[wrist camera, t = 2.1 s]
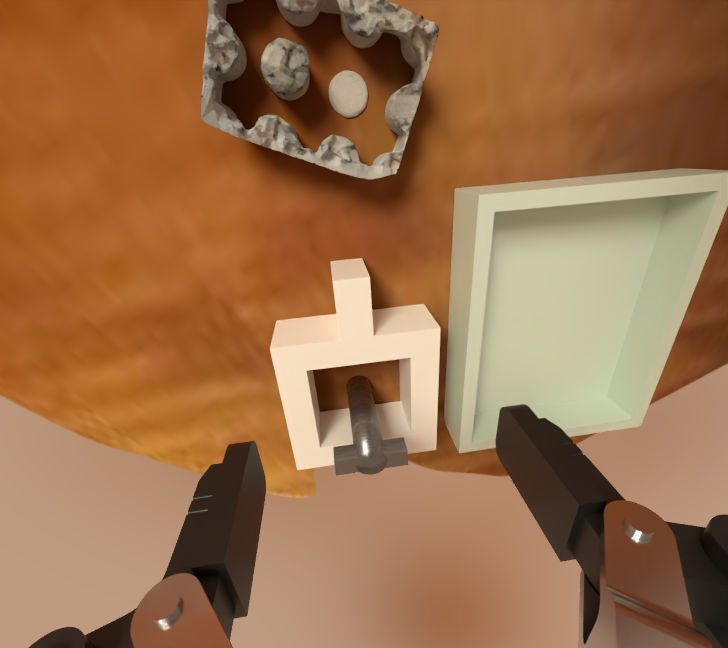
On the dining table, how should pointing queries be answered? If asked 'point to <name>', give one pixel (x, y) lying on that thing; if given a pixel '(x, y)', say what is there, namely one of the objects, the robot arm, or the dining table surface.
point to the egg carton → (291, 78)
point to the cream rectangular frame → (350, 347)
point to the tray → (572, 295)
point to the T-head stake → (367, 436)
